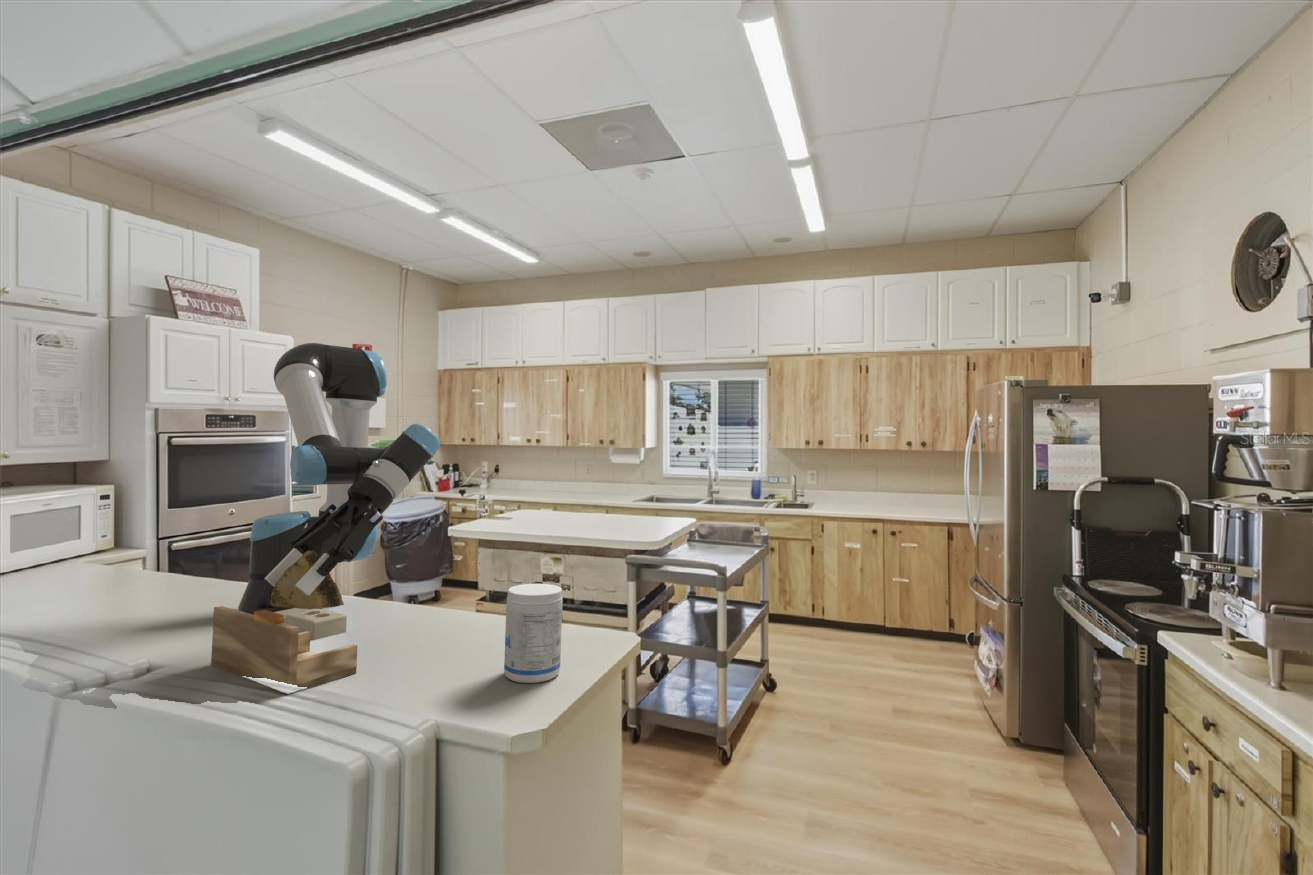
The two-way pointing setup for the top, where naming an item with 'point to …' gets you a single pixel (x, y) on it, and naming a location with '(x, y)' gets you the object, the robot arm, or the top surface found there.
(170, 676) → the top surface
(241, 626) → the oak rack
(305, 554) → the rock
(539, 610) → the supplement tub
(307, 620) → the grey cinder block
